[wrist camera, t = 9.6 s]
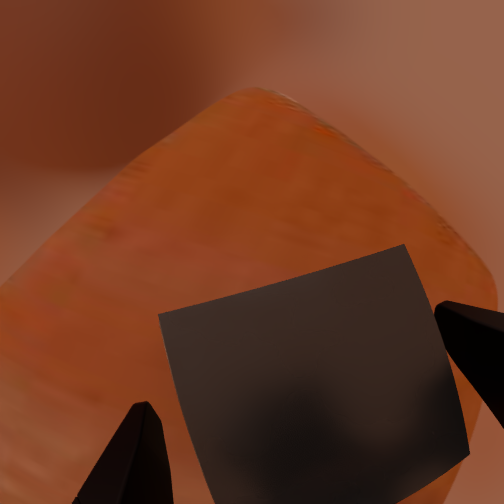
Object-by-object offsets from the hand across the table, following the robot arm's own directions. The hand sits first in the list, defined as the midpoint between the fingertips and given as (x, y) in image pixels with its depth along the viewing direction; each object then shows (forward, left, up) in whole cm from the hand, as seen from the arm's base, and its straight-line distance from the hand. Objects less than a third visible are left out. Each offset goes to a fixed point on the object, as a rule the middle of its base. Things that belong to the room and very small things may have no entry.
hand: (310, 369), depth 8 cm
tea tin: (-1, +1, -8) cm, 8 cm away
